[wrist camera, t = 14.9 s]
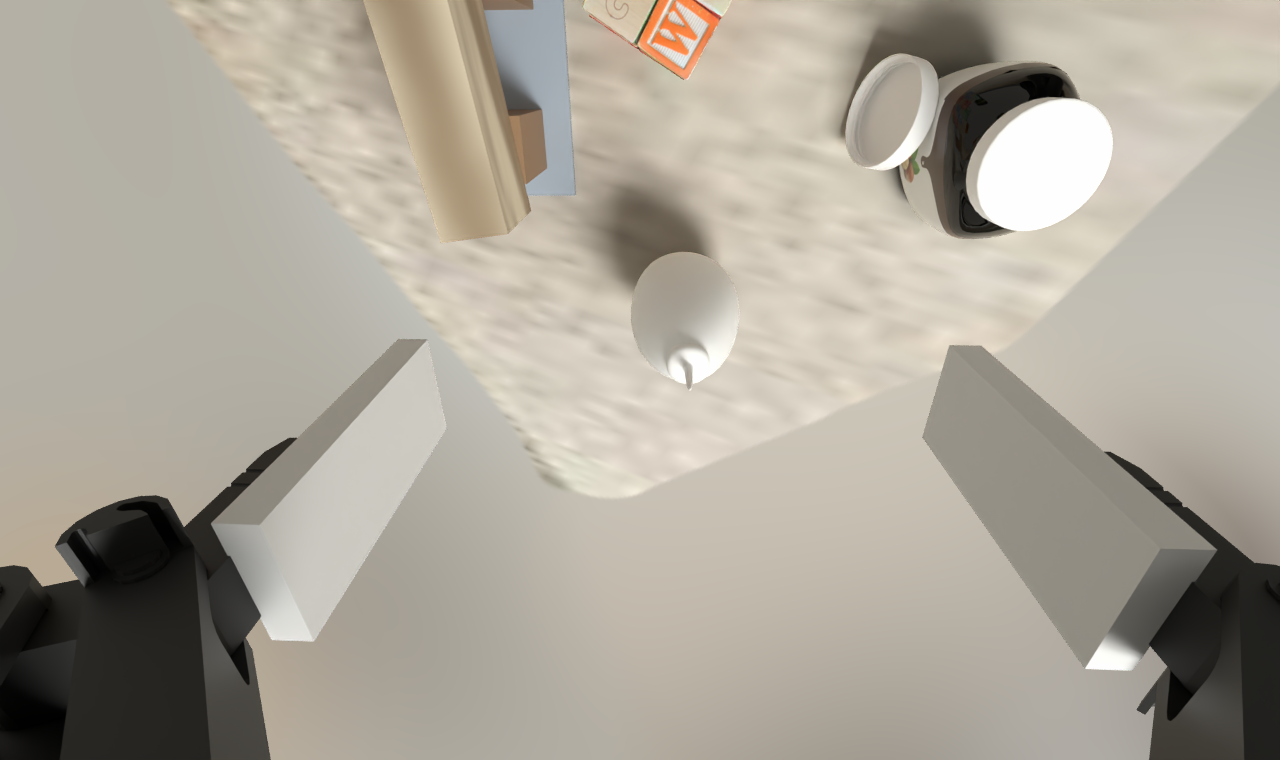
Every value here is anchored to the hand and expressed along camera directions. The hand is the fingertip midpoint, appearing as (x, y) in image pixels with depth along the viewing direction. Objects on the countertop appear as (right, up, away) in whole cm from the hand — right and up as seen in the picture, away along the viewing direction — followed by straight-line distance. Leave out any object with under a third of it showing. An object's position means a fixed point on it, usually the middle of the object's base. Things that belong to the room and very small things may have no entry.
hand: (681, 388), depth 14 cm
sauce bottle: (+2, +9, +32) cm, 33 cm away
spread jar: (+19, +18, +26) cm, 37 cm away
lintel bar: (-12, +19, +18) cm, 29 cm away
